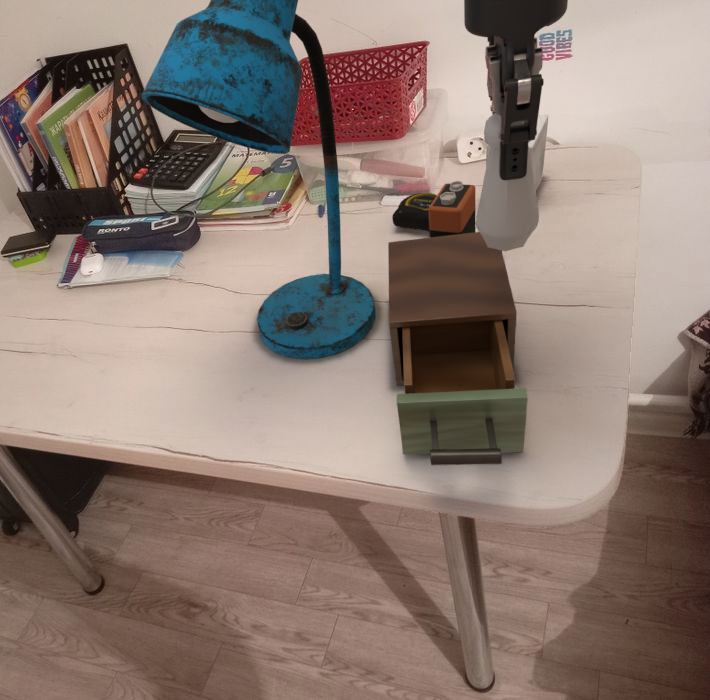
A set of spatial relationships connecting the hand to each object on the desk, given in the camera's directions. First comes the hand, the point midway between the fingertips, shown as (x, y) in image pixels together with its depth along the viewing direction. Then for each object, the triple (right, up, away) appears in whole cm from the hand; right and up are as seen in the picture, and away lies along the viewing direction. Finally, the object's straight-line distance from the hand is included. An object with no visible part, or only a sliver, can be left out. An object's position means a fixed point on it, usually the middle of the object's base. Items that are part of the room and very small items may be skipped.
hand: (509, 164), depth 57 cm
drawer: (-2, -24, +8) cm, 26 cm away
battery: (+5, -4, +31) cm, 31 cm away
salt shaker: (+2, -6, +5) cm, 8 cm away
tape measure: (+3, +1, +38) cm, 38 cm away
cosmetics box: (+17, +7, +38) cm, 42 cm away
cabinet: (0, -16, +18) cm, 24 cm away
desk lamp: (-16, -14, +26) cm, 34 cm away
